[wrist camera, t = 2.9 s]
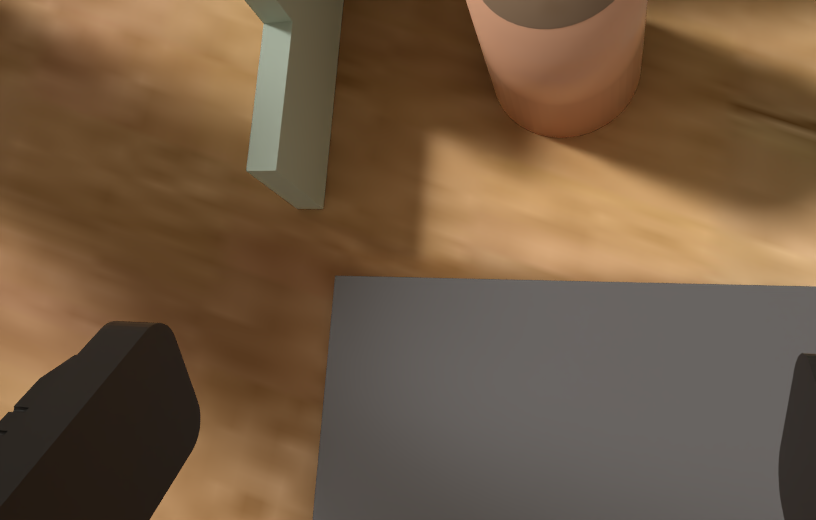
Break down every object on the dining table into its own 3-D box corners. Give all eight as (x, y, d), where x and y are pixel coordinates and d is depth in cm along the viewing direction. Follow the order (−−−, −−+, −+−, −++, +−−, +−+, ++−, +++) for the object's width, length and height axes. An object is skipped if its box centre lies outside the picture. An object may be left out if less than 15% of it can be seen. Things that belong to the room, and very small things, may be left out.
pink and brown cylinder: (489, 139, 32) (453, 45, 24) (496, 8, 33) (463, -121, 25) (640, 135, 30) (652, 34, 23) (641, -2, 31) (653, -142, 24)
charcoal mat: (311, 584, 29) (306, 586, 29) (339, 278, 32) (335, 275, 31) (829, 652, 25) (833, 656, 24) (814, 289, 27) (818, 286, 27)
